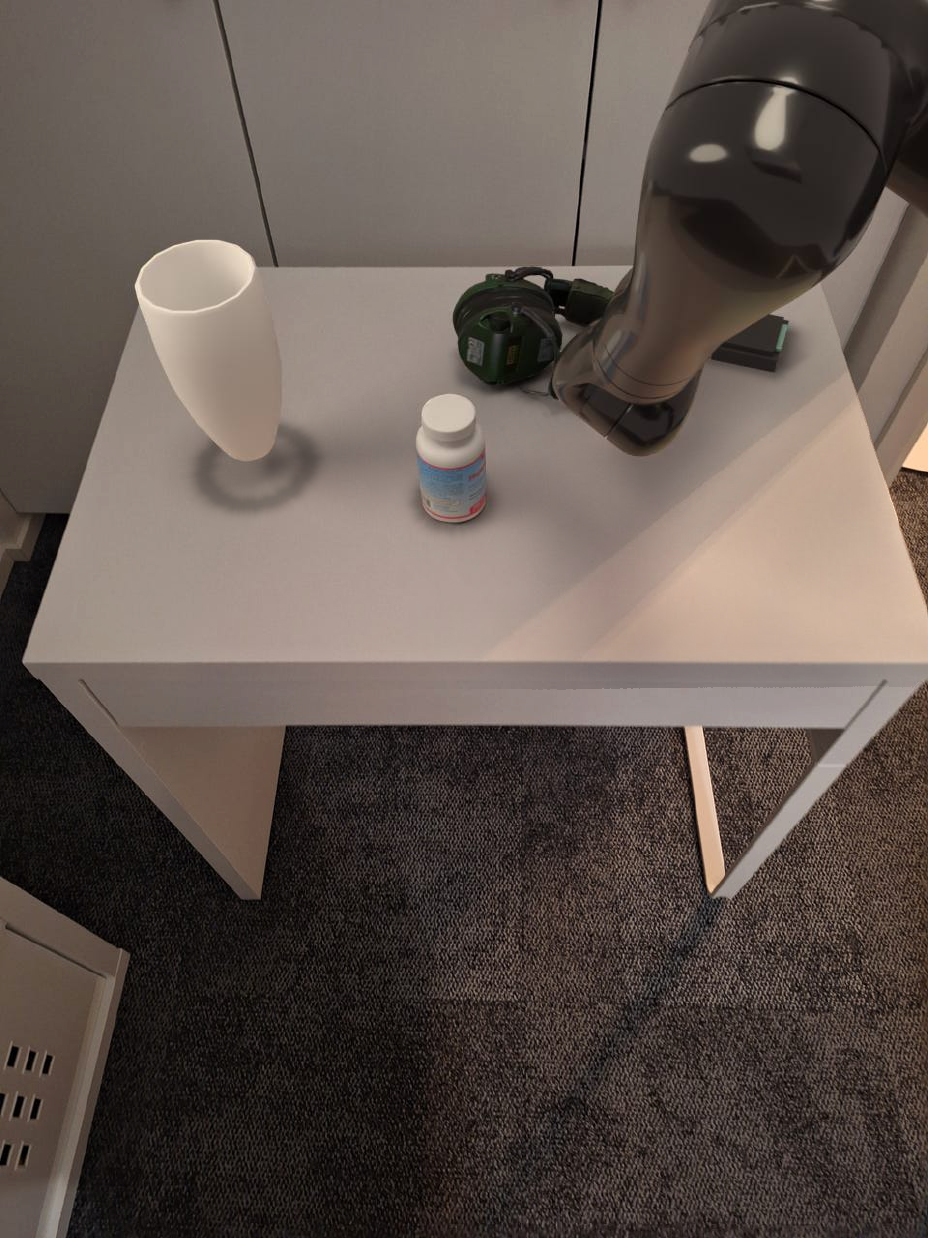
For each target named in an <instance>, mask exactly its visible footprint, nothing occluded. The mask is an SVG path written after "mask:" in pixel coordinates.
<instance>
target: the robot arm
mask: <svg viewBox="0 0 928 1238" xmlns="http://www.w3.org/2000/svg"><path fill="white" fill-rule="evenodd" d="M885 188H886V189H888V190H889V191H890V192H892V193H893V194H895V195H897V197H900V198H901V199H902V200H904V201H905V202H907V203H908V204H910V206H912V207H914V208H915V209H916V210H917V211H918V212H920V214H921V215H923V216H924V217H925V218H927V219H928V0H709V1H708V3H707V5H706V7H705V10H704V12H703V14H702V16H701V18H700V21H699V23H698V26H697V28H696V30H695V33H694V35H693V37H692V39H691V42H690V44H689V47H688V50H687V54H686V55H685V58H684V60H683V62H682V65H681V67H680V69H679V72H678V73H677V77H676V79H675V82H674V84H673V86H672V89H671V91H670V94H669V95H668V98H667V100H666V103H665V106H664V108H663V110H662V114H661V116H660V118H659V121H658V123H657V125H656V127H655V130H654V132H653V135H652V138H651V140H650V143H649V147H648V150H647V154H646V158H645V163H644V168H643V174H642V179H641V187H640V195H639V204H638V213H637V221H636V232H635V244H634V255H633V263H632V267H631V268H630V269H629V270H628V271H627V272H626V273H625V275H624V276H623V277H622V278H621V280H619V283H618V284H617V286H616V287H615V290H614V291H613V292H614V293H613V295H612V297H611V299H610V301H609V303H608V305H607V307H606V309H605V312H604V314H603V316H602V317H601V318H599V319H597V320H595V321H594V322H592V323H590V324H589V325H588V326H586V327H583V328H582V329H580V330H579V331H578V332H577V333H576V334H574V336H573V337H571V338H570V340H569V341H568V342H567V344H566V345H565V346H564V347H563V348H562V349H561V350H560V354H559V356H558V358H557V360H556V362H555V365H554V364H553V366H554V368H553V367H552V370H553V373H552V372H551V375H552V385H553V389H554V391H555V393H556V396H557V397H558V399H559V400H558V401H560V403H561V404H562V405H563V406H564V407H565V408H567V410H569V411H570V412H571V413H573V415H575V416H576V417H578V418H579V419H580V420H581V421H583V422H584V423H586V424H587V425H588V426H589V427H590V428H591V429H593V430H594V431H595V432H597V433H598V434H599V435H601V436H602V437H603V438H606V440H607V441H609V443H610V444H612V445H613V446H614V447H616V448H617V449H618V450H619V451H621V452H622V453H624V454H626V455H628V456H631V457H637V458H642V457H643V458H644V457H648V456H649V457H650V456H653V455H656V454H657V453H659V452H662V451H663V450H664V449H665V448H667V447H668V446H669V445H670V444H671V443H672V442H673V441H674V440H675V439H676V438H677V437H678V435H680V432H681V431H682V429H683V428H684V426H685V424H686V423H687V420H688V418H689V416H690V413H691V410H692V408H693V405H694V403H695V400H696V396H697V391H698V388H699V385H700V380H701V377H702V374H703V370H704V368H705V365H706V363H707V362H708V360H709V359H711V356H712V354H713V353H714V352H715V351H716V349H717V348H718V347H719V346H720V345H721V344H723V343H724V342H725V341H727V340H728V339H730V338H732V337H733V336H735V335H737V334H738V333H740V332H741V331H743V330H745V329H746V328H748V327H749V326H751V325H752V324H754V323H756V322H757V321H759V320H760V319H762V318H764V317H765V316H767V315H769V314H772V313H774V312H776V311H777V310H779V309H781V308H782V307H784V306H786V305H788V304H790V303H791V302H793V301H794V300H796V299H798V298H799V297H801V296H802V295H804V294H805V293H808V291H810V290H811V289H813V288H814V287H816V286H817V285H818V284H819V283H821V282H822V281H823V280H825V279H826V278H827V277H828V276H829V275H831V274H832V273H833V272H834V271H835V270H836V269H838V268H839V267H840V266H841V265H842V264H843V263H844V261H846V260H847V259H848V258H849V256H850V255H851V254H852V253H853V252H854V251H855V249H856V248H857V246H858V245H859V243H860V242H861V241H862V239H863V237H864V235H865V233H866V232H867V230H868V228H869V227H870V224H871V222H872V220H873V218H874V215H875V213H876V211H877V208H878V206H879V202H880V200H881V198H882V196H883V195H882V194H883V193H884V190H885Z"/></svg>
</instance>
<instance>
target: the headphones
mask: <svg viewBox="0 0 928 1238" xmlns="http://www.w3.org/2000/svg"><path fill="white" fill-rule="evenodd" d="M534 276H540V277H543V278H544V279H545V280H544V283H543V287H542V286H541V285H538V284H537V283H535V282H532V281H530V280H527V279H525V278H527V277H534ZM484 279H485V280H483V281H481V282H478V283H475V284H473V285H471V286H470V287H468V288H467V289H466V290H465V291H464V292H463V293H462V294H461V295H460V297H459V299H458V300H457V303H456V304H455V306H454V309H453V311H452V325H453V329H454V331H455V334H456V336H457V349H458V356H459V357H460V359H461V361H462V363H463V365H464V366H465V367H466V368H467V370H469V371H470V372H471V373H472V374H473V375H474V376H475V377H476V378H477V379H478V380H479V381H483V383H484V384H485V385H486V386H491V387H493V386H496V385H498V384H500V385H503V386H507V385H509V384H510V383H515V382H518V381H520V380H524V379H527V378H530V377H532V376H533V377H534V376H535V375H538V374H540V373H541V372H543V371H544V370H546V369H547V368H548V367H549V366H550V365H551V364H552V363H553V366H552V370H551V375H550V378H549V379H550V380H549V383H548V388H547V390H548V391H546V392H545V391H538V390H537V391H536V390H530V389H527V388H524V387H522V386H520V385H518V388H519V389H521V390H523V391H525V392H526V393H530V394H532V395H535V396H541V397H548V396H549V397H551V398H552V399H553V400H556V401H557V400H558V401H560V400H559V399H558V397H557V396H556V393H555V391H554V389H553V385H552V373H553V368H554V365H555V362H556V360H557V358H558V356H559V354H560V353H561V348H562V345H563V331H562V329H561V325H560V323H559V321H558V320H557V318H556V315H560V316H562V317H563V318H564V320H565V321H566V322H568V323H571V324H573V325H576V326H579V327H583V328H585V327H586V326H588V325H589V324H590V323H592V322H594V321H595V320H597V319H599V318H601V317H602V316H603V314H604V312H605V309H606V307H607V305H608V303H609V301H610V299H611V297H612V295H613V293H614V291H613V290H610V289H609V288H608V286H607V287H605V286H603V285H599V284H597V283H596V282H593V281H588V280H587V279H584V278H573V280H568V279H564V278H554V273H553V272H552V270H550V269H547V268H543V267H542V266H534V265H533V266H532V265H531V266H521V267H518V268H515V270H512V269H505V270H504V273H494V272H491V273H487V274H485V277H484Z"/></svg>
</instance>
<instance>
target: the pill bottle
mask: <svg viewBox="0 0 928 1238" xmlns="http://www.w3.org/2000/svg"><path fill="white" fill-rule="evenodd" d="M476 413H477V412H476V407H475V406H474V404H473V403H472V402H471V400H469V398H466V397H465V396H462V395H460V394H455V393H444V394H439V395H437V396H434V397H432V398H430V399H429V400H428V401H427V402H426V403H425V404H424V406H423V407H422V409H421V425H420V427H419V429H418V431H417V433H416V437H415V448H416V449H415V450H416V459H417V468H418V479H419V488H420V495H421V504H422V506H423V508H424V510H425V511H426V512H427V514H428V515H430V516H431V517H432V518H433V519H435V520H437V521H440V522H443V523H461V522H465V521H468V520H472V519H473V518H475V517H476V516H477V515H479V514H480V513H481V511H482V510H483V509H484V507H485V505H486V502H487V461H486V460H487V459H486V457H487V456H486V455H487V454H486V438H485V433H484V431H483V428H482V427H481V425H480V424H479V422H478V421H477V414H476Z"/></svg>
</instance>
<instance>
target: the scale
mask: <svg viewBox="0 0 928 1238" xmlns="http://www.w3.org/2000/svg"><path fill="white" fill-rule="evenodd" d="M789 323H790V320H789V319H785V317H784V316H781V315H775V314H772V313H770V314H769V315H767V316H765V317H764V318H762V319H760V320H759V321H757V322H756V323H754V324H752V325H751V326H749V327H748V328H746V329H745V330H743V331H741V332H740V333H738V334H737V335H735V336H733V337H732V338H730V339H728V340H727V341H725V342H724V343H723V344H721V345H720V346H719V347H718V348H717V349H716V351H715V352H714V353H713V354H712V355H711V356H710V359H711V360H714V361H719V362H723V363H728V364H733V365H737V366H742V367H746V368H751V369H756V370H761V371H766V372H770V373H775V371H776V368H777V365H778V362H779V358H780V355H781V352H782V348H783V345H784V341H785V337H786V333H787V329H788V326H789Z"/></svg>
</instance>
